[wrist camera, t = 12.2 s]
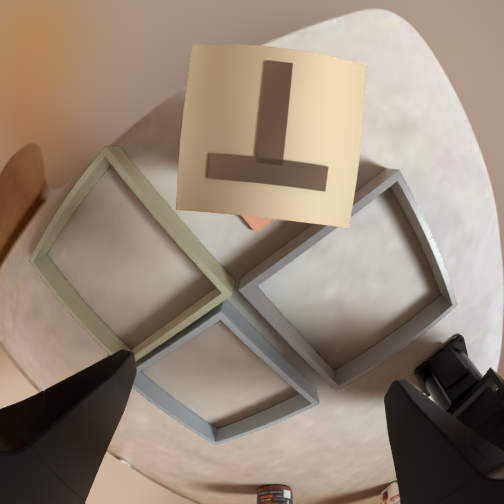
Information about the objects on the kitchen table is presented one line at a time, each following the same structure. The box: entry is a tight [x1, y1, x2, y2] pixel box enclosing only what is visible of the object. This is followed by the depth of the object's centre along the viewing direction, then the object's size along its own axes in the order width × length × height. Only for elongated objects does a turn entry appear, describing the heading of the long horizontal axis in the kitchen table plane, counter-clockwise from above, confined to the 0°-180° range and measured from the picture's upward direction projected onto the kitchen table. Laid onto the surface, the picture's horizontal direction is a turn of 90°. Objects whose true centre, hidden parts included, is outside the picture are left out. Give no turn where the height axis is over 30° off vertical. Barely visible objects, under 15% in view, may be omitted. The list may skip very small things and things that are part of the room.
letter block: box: [176, 44, 366, 228], centre depth 11 cm, size 5×5×10 cm
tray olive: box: [29, 146, 235, 361], centre depth 19 cm, size 13×13×2 cm
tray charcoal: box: [239, 168, 458, 391], centre depth 19 cm, size 13×13×2 cm
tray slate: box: [132, 300, 319, 445], centre depth 22 cm, size 13×13×2 cm
